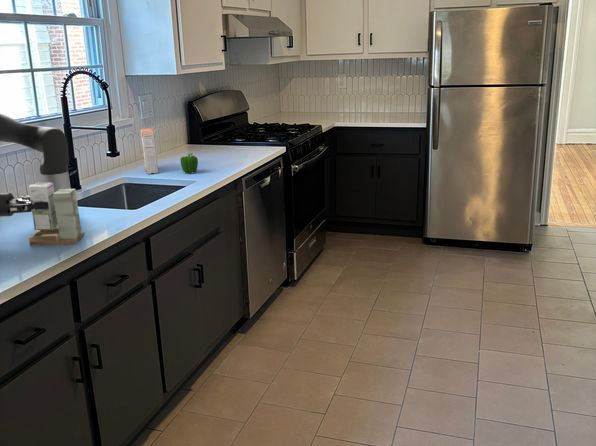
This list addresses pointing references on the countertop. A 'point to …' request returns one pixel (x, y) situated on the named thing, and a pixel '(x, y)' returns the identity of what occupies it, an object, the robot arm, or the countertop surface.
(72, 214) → the wooden tray with block
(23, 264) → the countertop surface
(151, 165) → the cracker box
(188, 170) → the bell pepper
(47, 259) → the countertop surface
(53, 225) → the syrup box
